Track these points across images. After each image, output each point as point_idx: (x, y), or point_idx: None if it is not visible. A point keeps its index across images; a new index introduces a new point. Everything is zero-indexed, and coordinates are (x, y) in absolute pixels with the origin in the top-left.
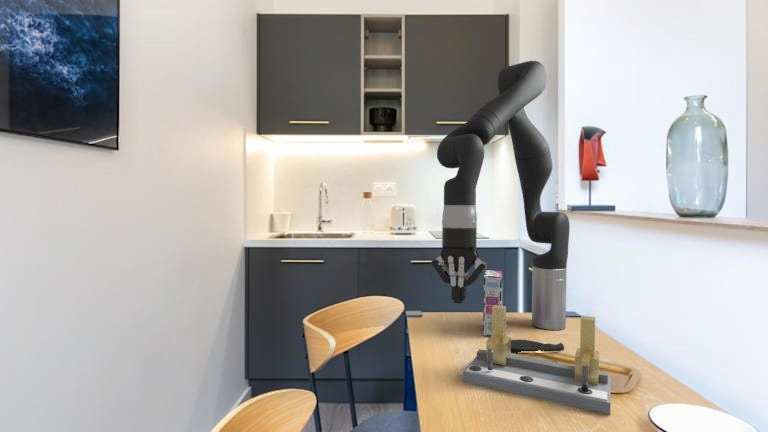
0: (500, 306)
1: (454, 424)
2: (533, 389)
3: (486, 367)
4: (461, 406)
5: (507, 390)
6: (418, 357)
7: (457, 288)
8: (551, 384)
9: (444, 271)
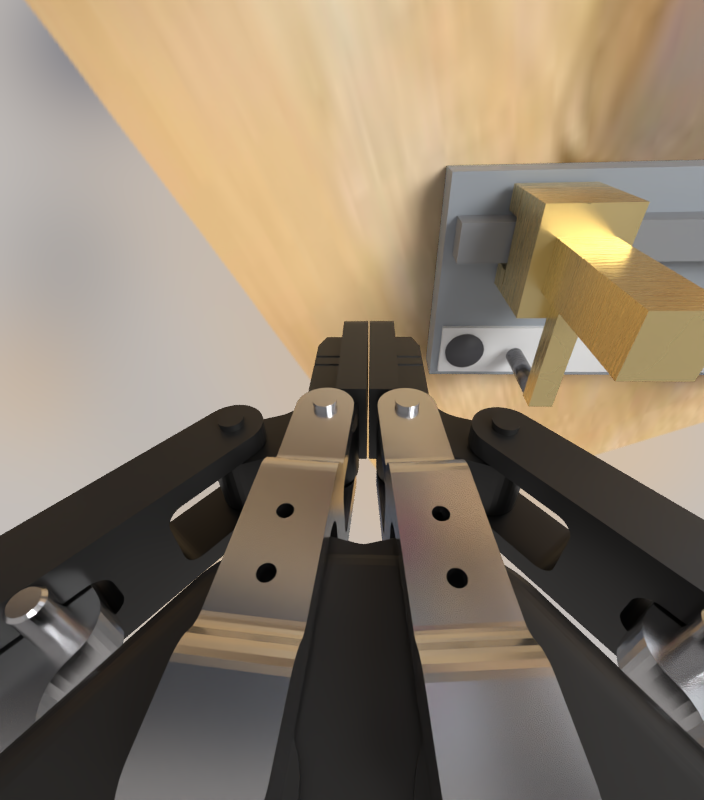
0: (686, 338)
1: None
2: None
3: (496, 313)
4: None
5: None
6: (225, 257)
7: (370, 451)
8: None
9: (162, 521)
